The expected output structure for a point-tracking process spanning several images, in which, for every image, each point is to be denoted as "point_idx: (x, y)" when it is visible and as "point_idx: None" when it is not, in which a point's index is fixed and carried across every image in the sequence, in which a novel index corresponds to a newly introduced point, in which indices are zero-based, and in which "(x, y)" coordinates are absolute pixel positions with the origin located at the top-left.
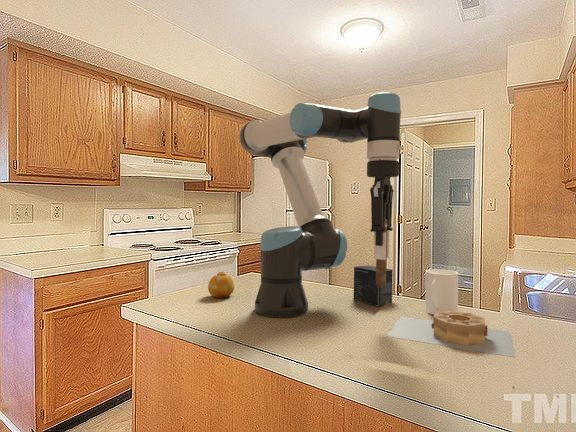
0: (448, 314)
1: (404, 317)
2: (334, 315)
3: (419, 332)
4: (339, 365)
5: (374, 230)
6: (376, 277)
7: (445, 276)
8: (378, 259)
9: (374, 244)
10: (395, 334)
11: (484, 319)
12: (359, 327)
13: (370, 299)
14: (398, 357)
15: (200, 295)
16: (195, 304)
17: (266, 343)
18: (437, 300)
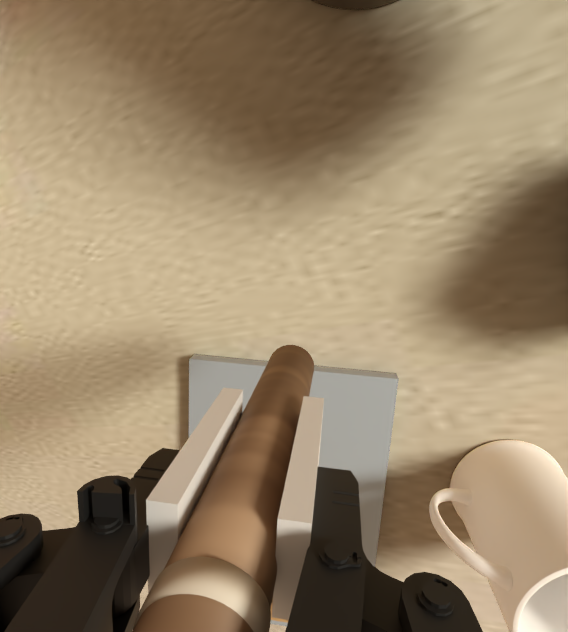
0: None
1: (390, 390)
2: (376, 136)
3: None
4: (6, 278)
5: (90, 519)
6: (270, 361)
7: (510, 628)
8: (243, 411)
9: (190, 438)
10: (212, 379)
11: (279, 619)
12: (278, 259)
13: None
14: (111, 391)
15: None
16: None
17: (22, 37)
18: (475, 518)
